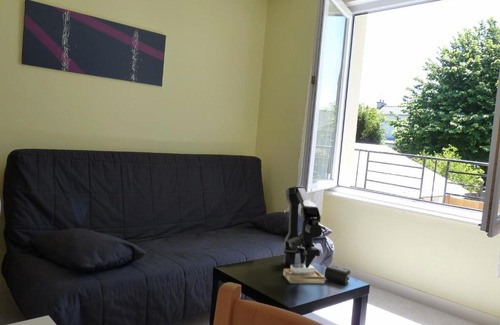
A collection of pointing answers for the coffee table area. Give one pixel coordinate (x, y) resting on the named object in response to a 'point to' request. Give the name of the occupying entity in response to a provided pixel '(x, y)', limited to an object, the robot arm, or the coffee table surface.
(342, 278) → the end cap
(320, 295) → the coffee table surface
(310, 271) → the block
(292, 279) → the beech stand
